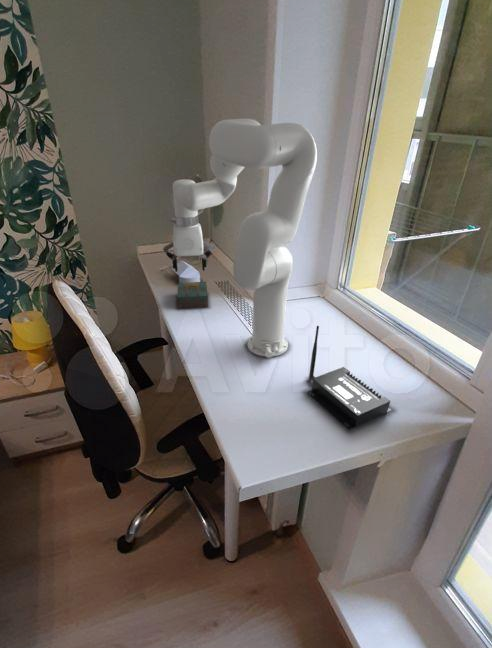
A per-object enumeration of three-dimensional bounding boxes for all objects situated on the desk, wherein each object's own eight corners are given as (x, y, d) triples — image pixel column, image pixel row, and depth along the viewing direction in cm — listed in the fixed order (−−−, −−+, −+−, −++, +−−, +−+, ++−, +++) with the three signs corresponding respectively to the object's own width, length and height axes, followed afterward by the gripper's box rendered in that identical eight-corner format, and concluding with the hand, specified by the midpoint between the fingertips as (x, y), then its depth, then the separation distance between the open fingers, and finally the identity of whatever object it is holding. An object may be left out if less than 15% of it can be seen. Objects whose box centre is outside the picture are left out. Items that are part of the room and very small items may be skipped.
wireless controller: (392, 410, 94) (409, 352, 84) (349, 430, 88) (362, 371, 79) (336, 368, 109) (345, 315, 99) (296, 383, 103) (302, 329, 94)
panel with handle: (207, 298, 140) (207, 284, 137) (177, 300, 139) (176, 286, 136) (206, 284, 151) (205, 271, 148) (178, 285, 150) (177, 272, 147)
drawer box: (208, 307, 142) (207, 298, 140) (178, 309, 142) (177, 299, 140) (206, 293, 153) (206, 284, 151) (179, 294, 152) (178, 285, 150)
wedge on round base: (173, 276, 168) (183, 287, 158) (171, 262, 164) (182, 272, 155) (192, 272, 171) (203, 283, 161) (191, 258, 168) (202, 268, 158)
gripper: (159, 224, 122) (165, 274, 132) (213, 222, 123) (214, 272, 133) (161, 218, 129) (166, 266, 138) (212, 216, 129) (213, 264, 139)
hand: (190, 269), depth 136 cm, fingers open, 9 cm apart
